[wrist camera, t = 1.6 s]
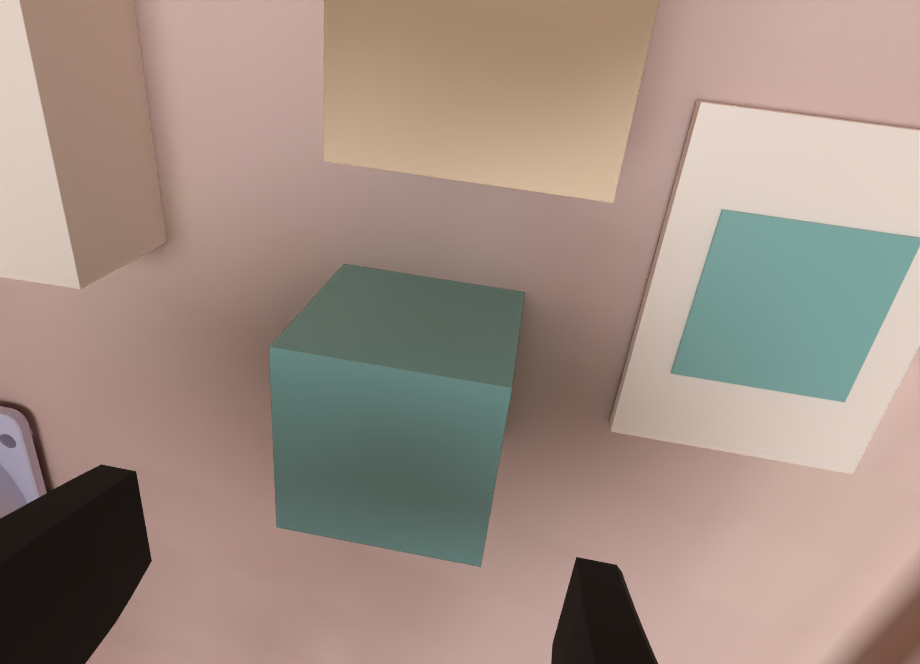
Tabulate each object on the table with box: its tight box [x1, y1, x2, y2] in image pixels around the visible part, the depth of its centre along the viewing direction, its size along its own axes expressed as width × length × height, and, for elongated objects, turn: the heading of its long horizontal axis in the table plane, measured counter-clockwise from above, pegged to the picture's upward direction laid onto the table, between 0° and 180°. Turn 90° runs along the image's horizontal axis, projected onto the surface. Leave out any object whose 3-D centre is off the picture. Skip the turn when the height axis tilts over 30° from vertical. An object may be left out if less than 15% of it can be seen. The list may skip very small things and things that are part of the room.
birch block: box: [324, 0, 659, 203], centre depth 10 cm, size 4×4×4 cm
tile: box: [609, 100, 920, 474], centre depth 14 cm, size 8×6×1 cm
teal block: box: [269, 264, 525, 567], centre depth 14 cm, size 4×4×4 cm
